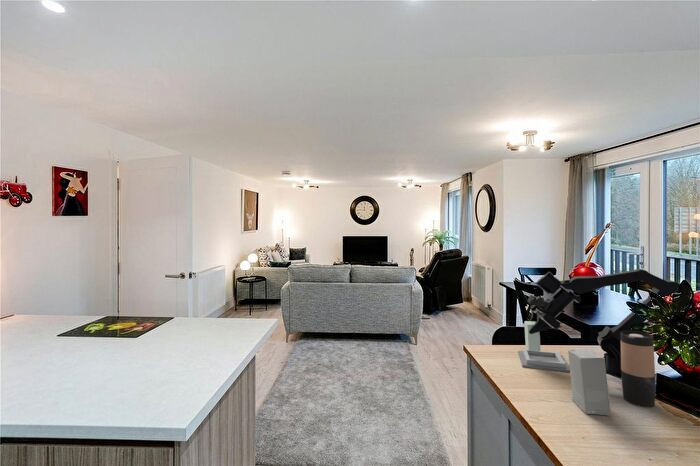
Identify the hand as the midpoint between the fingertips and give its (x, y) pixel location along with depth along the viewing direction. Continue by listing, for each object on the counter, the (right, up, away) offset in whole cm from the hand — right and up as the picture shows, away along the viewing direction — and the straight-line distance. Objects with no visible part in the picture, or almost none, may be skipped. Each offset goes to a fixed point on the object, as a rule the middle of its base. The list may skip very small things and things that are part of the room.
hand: (528, 331), depth 129 cm
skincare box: (0, -13, -33) cm, 35 cm away
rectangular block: (+2, -7, 0) cm, 7 cm away
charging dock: (+6, -12, +1) cm, 14 cm away
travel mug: (+17, -12, -30) cm, 37 cm away
